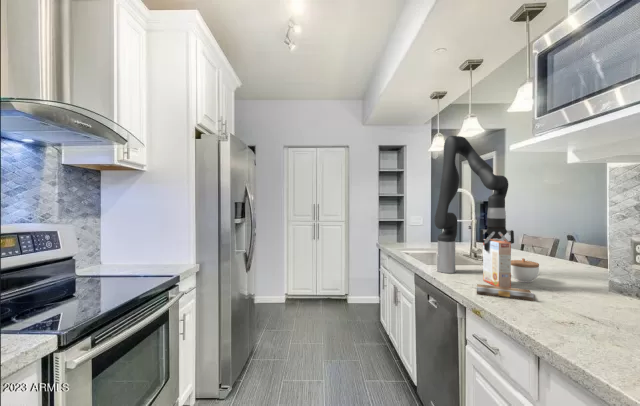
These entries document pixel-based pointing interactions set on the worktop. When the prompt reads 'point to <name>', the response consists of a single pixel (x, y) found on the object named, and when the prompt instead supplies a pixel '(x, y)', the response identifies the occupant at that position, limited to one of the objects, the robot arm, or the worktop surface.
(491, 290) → the brown book
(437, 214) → the robot arm
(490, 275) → the cracker box
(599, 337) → the worktop surface
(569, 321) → the worktop surface
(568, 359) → the worktop surface
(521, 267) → the lidded bowl
